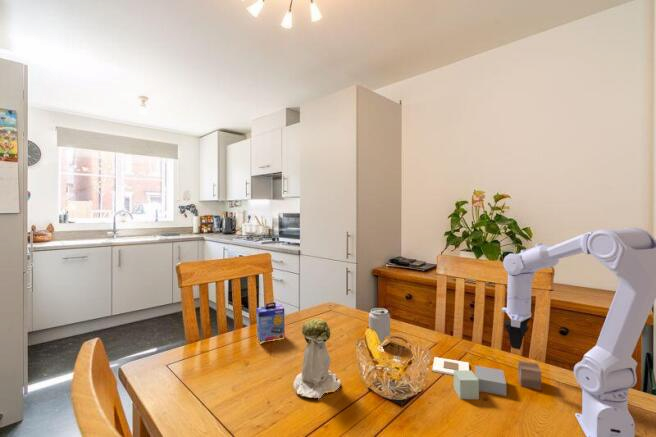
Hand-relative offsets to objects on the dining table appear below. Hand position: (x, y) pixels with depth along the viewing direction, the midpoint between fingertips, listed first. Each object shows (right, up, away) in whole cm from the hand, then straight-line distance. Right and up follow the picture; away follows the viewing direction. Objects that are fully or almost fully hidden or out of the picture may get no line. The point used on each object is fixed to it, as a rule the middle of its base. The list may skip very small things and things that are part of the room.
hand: (517, 342), depth 88 cm
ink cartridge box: (-75, -11, +29) cm, 81 cm away
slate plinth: (-10, -11, -4) cm, 15 cm away
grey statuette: (-57, -12, -2) cm, 58 cm away
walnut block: (+1, -10, -3) cm, 11 cm away
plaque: (-17, -10, +6) cm, 20 cm away
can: (-35, -10, +24) cm, 43 cm away
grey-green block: (-18, -11, -7) cm, 22 cm away
